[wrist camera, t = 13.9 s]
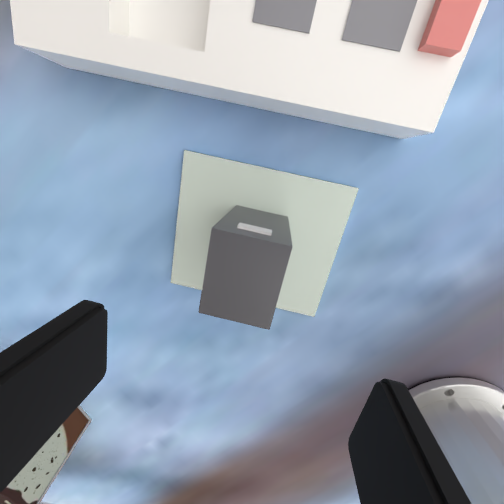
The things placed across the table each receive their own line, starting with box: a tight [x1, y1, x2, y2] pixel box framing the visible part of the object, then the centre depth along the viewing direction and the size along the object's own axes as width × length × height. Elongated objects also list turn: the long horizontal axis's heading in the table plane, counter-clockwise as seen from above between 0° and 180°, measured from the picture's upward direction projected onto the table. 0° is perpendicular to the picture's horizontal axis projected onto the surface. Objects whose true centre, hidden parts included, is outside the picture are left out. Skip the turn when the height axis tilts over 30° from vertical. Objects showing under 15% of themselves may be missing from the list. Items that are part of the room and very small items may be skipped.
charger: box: [199, 205, 293, 329], centre depth 18 cm, size 4×6×8 cm
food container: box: [0, 405, 91, 504], centre depth 27 cm, size 12×6×10 cm, turn 24°
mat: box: [171, 150, 359, 317], centre depth 22 cm, size 14×12×1 cm
